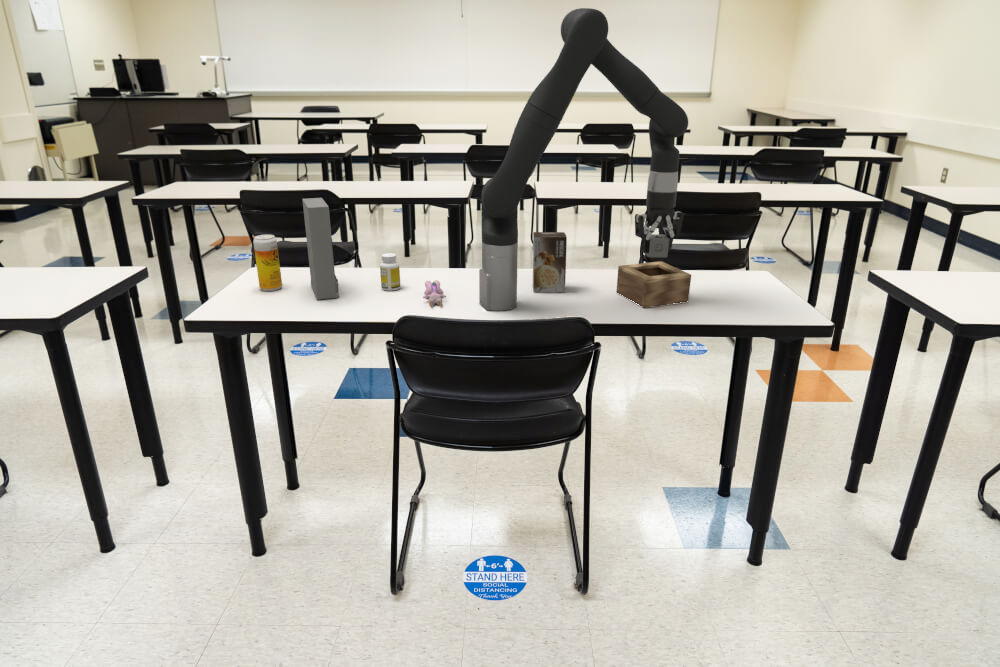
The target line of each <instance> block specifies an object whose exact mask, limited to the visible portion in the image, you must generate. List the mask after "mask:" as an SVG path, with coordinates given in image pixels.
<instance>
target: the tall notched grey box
mask: <svg viewBox="0 0 1000 667" xmlns="http://www.w3.org/2000/svg"><path fill="white" fill-rule="evenodd" d="M302 207H303V216H304V226H305V227H304V228H305V234H306V235H305V236H306V238H305V239H306V246H307V256H308V265H309V274H310V276H309V277H310V286H311V288H312V290H313V294H314V296H315V298H316V300H317V301H320V300H325V299H326V300H328V299H337V298H340V288H339V279H338V278H337V276H336V272H335V256H334V247H333V246H334V245H333V238H332V227H331V217H330V208H329V205H328V204H327V203H326V201H325V200H324V198H323V197H315V198H314V197H313V198H302Z"/></svg>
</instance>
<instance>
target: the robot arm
mask: <svg viewBox="0 0 1000 667" xmlns="http://www.w3.org/2000/svg"><path fill="white" fill-rule="evenodd" d="M608 34H609V23H608V18H607V17H606V15H605V14H604V13H603V12H602V11H601V10H599V9H596V8H591V7H590V8H587V7H586V8H585V7H583V8H582V7H580V8H576V9H572V10H570V11H569V12H568V13H567V14H566V15H565V16H564V17H563V19H562V21H561V25H560V36H561V39H562V41H563V47H562V48H561V50H560V52H559V55H558V58H557V60H556V61H555V63H554V64H553V66H552V68H550V70H549V72H548V73H547V74H546V75H545V76H544V78H543V79H542V80H541V81H540V82H539V84H537V86H536V87H535V89H534V90H533V91H532V93H531V95H529V98H528V99H527V101H526V104H524V105H525V106H524V107H523V109H522V112H521V113H520V115H519V118H518V121H517V123H516V125H515V128H514V129H513V133H512V136H511V139H510V143H509V146H508V149H507V151H506V155H505V156H504V159H503V161H502V162H501V164H500V166H499V167H498V169H497V171H496V173H495V174H494V176H493V177H491V178H489V179H488V180H487V181H486V182H485V183H484V185H483V187H482V190H481V268H479V270H478V272H479V277H478V278H479V280H478V281H479V284H478V285H479V289H478V290H479V292H478V293H479V300H478V301H479V302H478V303H479V304H480V305H481V306H482V307H483V309H485V310H486V311H509V310H512V309H514V308H515V309H516V307H517V306H518V305H517V302H518V297H517V296H518V251H519V250H518V248H519V247H518V245H519V244H518V243H519V230H518V229H519V226H518V213H519V210H518V208H519V207H518V206H519V203H520V201H521V199H522V196H523V194H524V191H525V188H526V187H527V183H528V182H529V179H530V177H531V175H532V172H533V171H534V169H535V167H536V166H537V164H538V163H539V162H540V160H541V158H542V156H543V154H544V152H545V151H546V150H547V147H548V146H549V144H550V142H551V140H552V139H553V137H554V136H555V135H556V132H557V130H558V128H559V126H560V124H561V122H562V121H563V119H564V116H565V113H566V112H567V110H568V108H569V106H570V105H571V102H572V100H573V98H574V96H575V94H576V93H577V91H578V88H579V86H580V83H581V82H582V79H583V78H584V76H585V74H586V73H587V71H588V70H589V68H590V67H591V65H592V66H593V67H594V68H595V69H596V70H597V71H599V73H601V74H602V75H603V76H604V77H605V78H606V80H608V81H609V82H610V83H611V84H612V86H613V87H614V88H615V89H616V90H617V91H618V93H620V94H621V96H622V97H623V98H624V99H625V100H626V101H627V102H628V103H629V104H630V105H631V106H632V107H633V108H634V110H635V111H637V112H638V113H640V114H641V115H644V116H645V117H648V118H649V123H648V135H649V136H648V137H649V145H650V151H651V156H650V157H651V158H650V164H649V165H650V166H649V167H650V169H649V175H648V178H647V180H648V181H647V188H646V189H647V190H646V200H645V206H646V210H645V212H644V213H642V214H638V213H636V214H635V215H634V231H635V232H634V235H635V237H638V238H639V239H641V243H640V251H641V253H644V254H645V253H649V244H650V240H649V239H650V237H651V235H652V234H653V233H655V231H656V229H660V228H662V229H663V231H664V235H666V236H667V237H668V238H669V246H668V252H670V251H671V249H672V248H673V240H674V237H675V236H679V235H680V234H681V231H682V227H683V222H684V217H685V214H684V212H682V211H679V210H676V211H675V207H676V206H677V205H676V202H677V195H678V194H677V193H678V184H679V165H680V151H679V150H680V149H678V148H677V147H676V146H675V142H674V139H675V138H679V137H681V136H682V135H684V134H685V133H686V131H687V129H688V127H689V117H688V114H687V113H686V112H685V110H684V109H683V108H682V107H681V106H680V105H679V104H678V103H677V102H675V101H674V100H673V99H672V98H670V97H669V96H668V95H666V94H665V93H664V92H662V91H661V90H660V88H658V86H657V85H656V84H655V83H654V82H653V81H652V79H651V78H650V77H649V76H648V75H647V74H646V73H645V72H644V71H643V70H642V69H641V68H639V67H638V66H637V65H636V64H634V62H633V61H631V60H629V59H628V58H627V56H625V55H624V54H622V53H621V52H620V51H619V50H618V49H617V48H616V47H615V46H614V45H613V44H612V43H611V41H610V40H609V39H608Z"/></svg>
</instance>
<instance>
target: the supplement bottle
mask: <svg viewBox="0 0 1000 667" xmlns="http://www.w3.org/2000/svg"><path fill="white" fill-rule="evenodd" d="M381 260H382V262H380V264H379V271H380V272H379V273H380V285H381V289H382V290H383V291H389V292H391V291H393V292H394V291H397V290H400V289H401V273H400V272H401V271H400V270H401V269H400V264H399V262H398V261H397V254H396V253H392V252H390V253H387V252H386V253H383V254H382V255H381Z"/></svg>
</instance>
